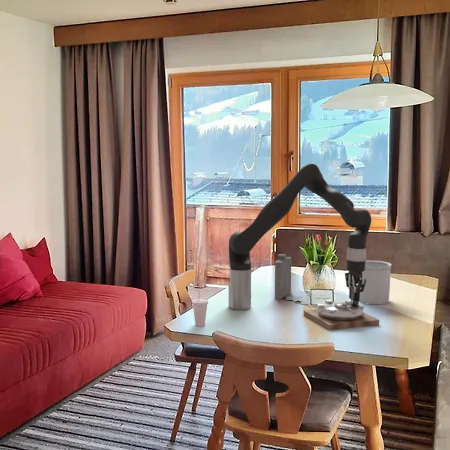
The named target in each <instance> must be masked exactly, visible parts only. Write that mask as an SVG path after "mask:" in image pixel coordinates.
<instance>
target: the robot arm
mask: <svg viewBox="0 0 450 450" xmlns="http://www.w3.org/2000/svg"><path fill="white" fill-rule="evenodd" d="M304 188H305V189H307V190H308V191H310V192H311V193H313V194H315V195H316V196H318V197H320V198H321V199H323V200H324V201H325V202H326V203H327V204H329V206H331V207H332V209H334V210H335V211H336V212H337V213H339V215H340V217H341V219H343V222H344V223H345V224H346V225H347V226H348V227H350V228H354V231H353V232H351V233H350V234H349V235H348V241H347V242H348V243H347V251H346V268H345V269H346V270H347V271H348V272H345V273H344V277H345V285H346V287H347V288H348V293H349V294H348V298H349V299H350V300H351V286H353V287H354V301H355V302H357V301H359V300H360V292H363V291H364V287H365V284H366V279H363V278H362V277H363V276H362V272H363V271H365V265H366V261H367V251H366V250H367V237H368V235H369V231H370V227H371V224H372V216H371V213H370V212H369V211H368V210H367V209H354V207H355V205H354V204H355V203H354V202H353V201H352V200H351V199H349V198H348V196H346V195H345V194H343V193H342V192H341V191H339V190H337V189H335V188H333V187H332V186H330V185H329V183H327V181H326V180H325V178H324V176H323V174H322V172H321V170H320V168H319V166H318V165H317V164H315V163H311V162H310V163H307V164H305V165H303V166H302V167H301V168H299V170H298V171H297V172H296V173H295V174H294V176H293V177H292V178H291V179H290V181H289V182H287V184H286V185H285V186H283V188H282V189H281V190H280V191H279V192H278V193H277V194H275V196H274V197H272V198H271V200H269V201H268V202H267V203H266V204H265V205H264V206H263V208H261V209H260V211H259V213H258V214H257V216H256V218H255V219H254V220H253V222H251V224H250V225H249V226H248V227H246V228H245V229H244V230H243V231H235V232H234V233H232V234H231V235H230V237H229V241H228V260H229V261H228V262H229V285H228V307H229V308H230V309H231V310H238V311H239V310H240V311H242V310H243V311H244V310H250V309H251V308H252V262H251V253H250V251H252V250H253V249H254V247H255V246H256V245H257V244H258V242H259V241H260V240H261V239H262V238H263V237H264V236H265V235H266V234H267V233H268V232H269V231H270V230H272V229H273V228H274V227H275V226H276V225H277V224H278V223H280V222H281V220H283V218H284V217H285V216H287V215H288V213H289V212H290V211H291V209H292V207H293V205H294V203H295V201H296V198H297V196H298V195H299V194H300V192H301V191H302V190H303V189H304ZM359 302H360V301H359Z"/></svg>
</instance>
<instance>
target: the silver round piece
mask: <svg viewBox="0 0 450 450" xmlns="http://www.w3.org/2000/svg"><path fill="white" fill-rule="evenodd" d="M324 301H325V302H323V303H317V309H318V314H319V315H320V316H321V317H324V318H327V319H333V320H356V319H360V318H362V317H363V312H364V310H365V305H364V304H360V303H359V302H360V301H357V302H355V301H354V287H353V286H351V299H350V300H349V299H346V300H345V301H334V300H331V299H325V300H324Z"/></svg>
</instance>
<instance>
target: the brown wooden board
mask: <svg viewBox="0 0 450 450" xmlns="http://www.w3.org/2000/svg"><path fill="white" fill-rule="evenodd" d="M303 316H305V317H306V318H308V319H309V320H311V321H313V322H315V323H316V324H318V325H320V326H322V327H323V328H325V329H326V330H328V331H333V330H334V331H335V330H342V329H344V330H345V329H353V328H354V327H355V328H362V327H371V326H372V327H373V326H379V325H380V319H378V318H376V317H374V316H372V315H370V314H368V313H365V312H364V311H363V317H362V318H360V319H356V320H333V319H327V318H324V317H321V316H320V315H319V314H318V308H316V309H307V310H303Z"/></svg>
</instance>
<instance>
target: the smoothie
mask: <svg viewBox="0 0 450 450" xmlns="http://www.w3.org/2000/svg"><path fill="white" fill-rule="evenodd" d="M197 293H198V294H197V295H198V297H197V298H196V299H193V300H191V304H192V309H193V316H194V322H195V323H194V324H195V326H197V327H203V326H206V317H207V311H208V304H209V300H207V299H204V298H200V297H201V295H200V293H201V290H200V289H198V290H197Z"/></svg>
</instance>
